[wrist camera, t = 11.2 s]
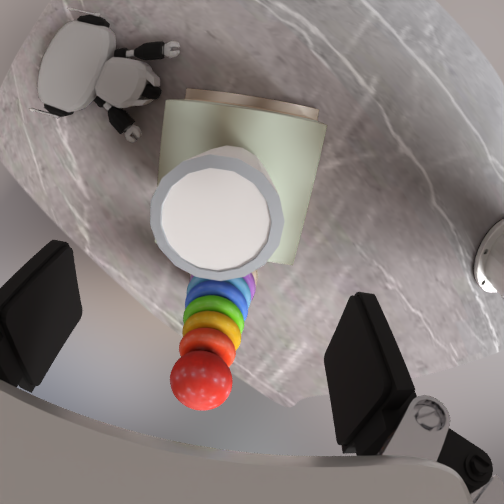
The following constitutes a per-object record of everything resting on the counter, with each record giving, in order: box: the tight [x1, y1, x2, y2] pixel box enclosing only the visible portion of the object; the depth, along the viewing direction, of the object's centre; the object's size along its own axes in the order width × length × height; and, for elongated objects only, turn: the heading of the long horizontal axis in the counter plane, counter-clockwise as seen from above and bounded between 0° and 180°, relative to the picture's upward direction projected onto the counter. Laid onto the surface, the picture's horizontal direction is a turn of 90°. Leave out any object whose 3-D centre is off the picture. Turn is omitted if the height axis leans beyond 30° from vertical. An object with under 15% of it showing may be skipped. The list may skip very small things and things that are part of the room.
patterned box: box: [155, 88, 327, 266], centre depth 26 cm, size 13×13×11 cm
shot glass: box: [150, 145, 285, 281], centre depth 18 cm, size 7×7×7 cm
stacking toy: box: [170, 270, 257, 410], centre depth 29 cm, size 8×8×19 cm
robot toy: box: [29, 7, 180, 142], centre depth 25 cm, size 12×4×15 cm
